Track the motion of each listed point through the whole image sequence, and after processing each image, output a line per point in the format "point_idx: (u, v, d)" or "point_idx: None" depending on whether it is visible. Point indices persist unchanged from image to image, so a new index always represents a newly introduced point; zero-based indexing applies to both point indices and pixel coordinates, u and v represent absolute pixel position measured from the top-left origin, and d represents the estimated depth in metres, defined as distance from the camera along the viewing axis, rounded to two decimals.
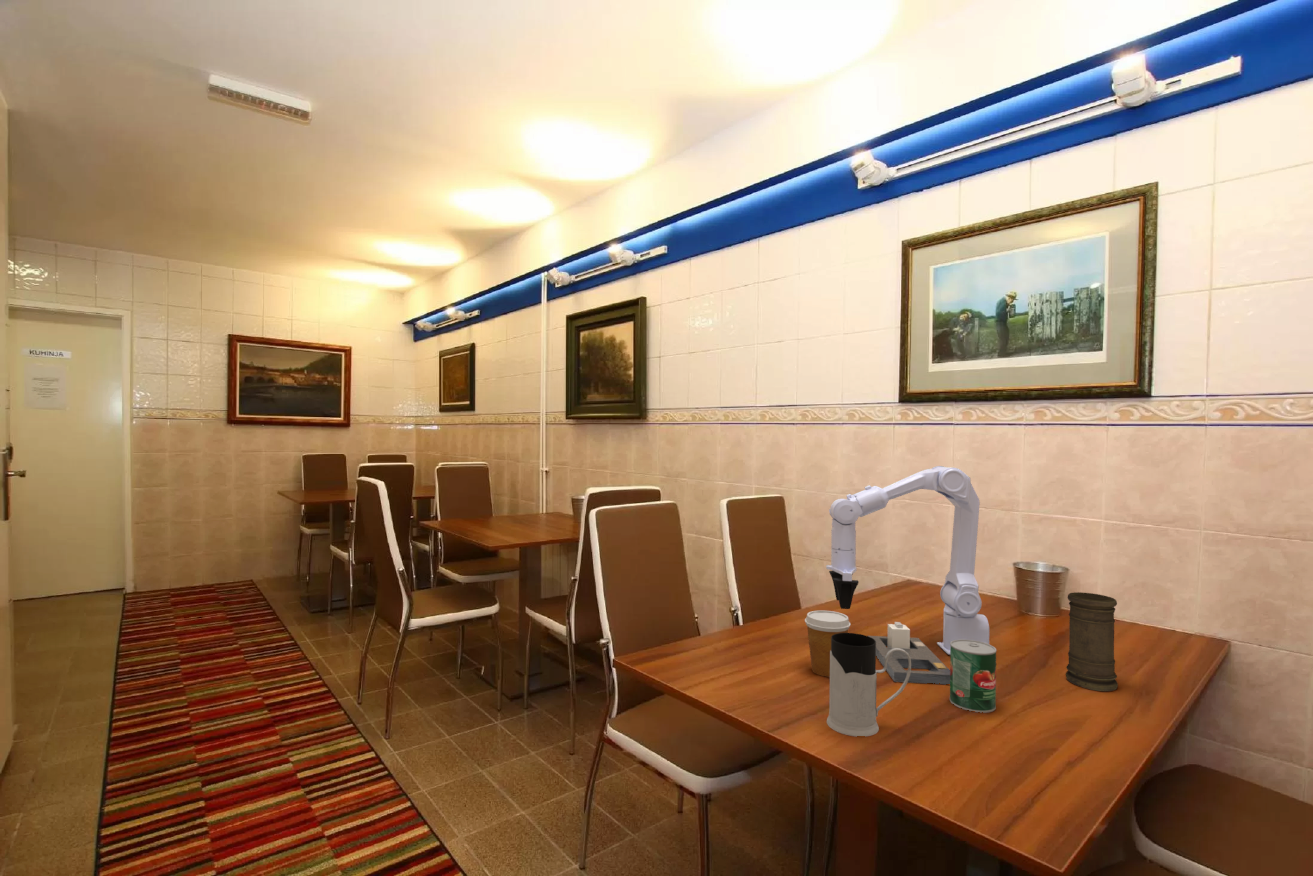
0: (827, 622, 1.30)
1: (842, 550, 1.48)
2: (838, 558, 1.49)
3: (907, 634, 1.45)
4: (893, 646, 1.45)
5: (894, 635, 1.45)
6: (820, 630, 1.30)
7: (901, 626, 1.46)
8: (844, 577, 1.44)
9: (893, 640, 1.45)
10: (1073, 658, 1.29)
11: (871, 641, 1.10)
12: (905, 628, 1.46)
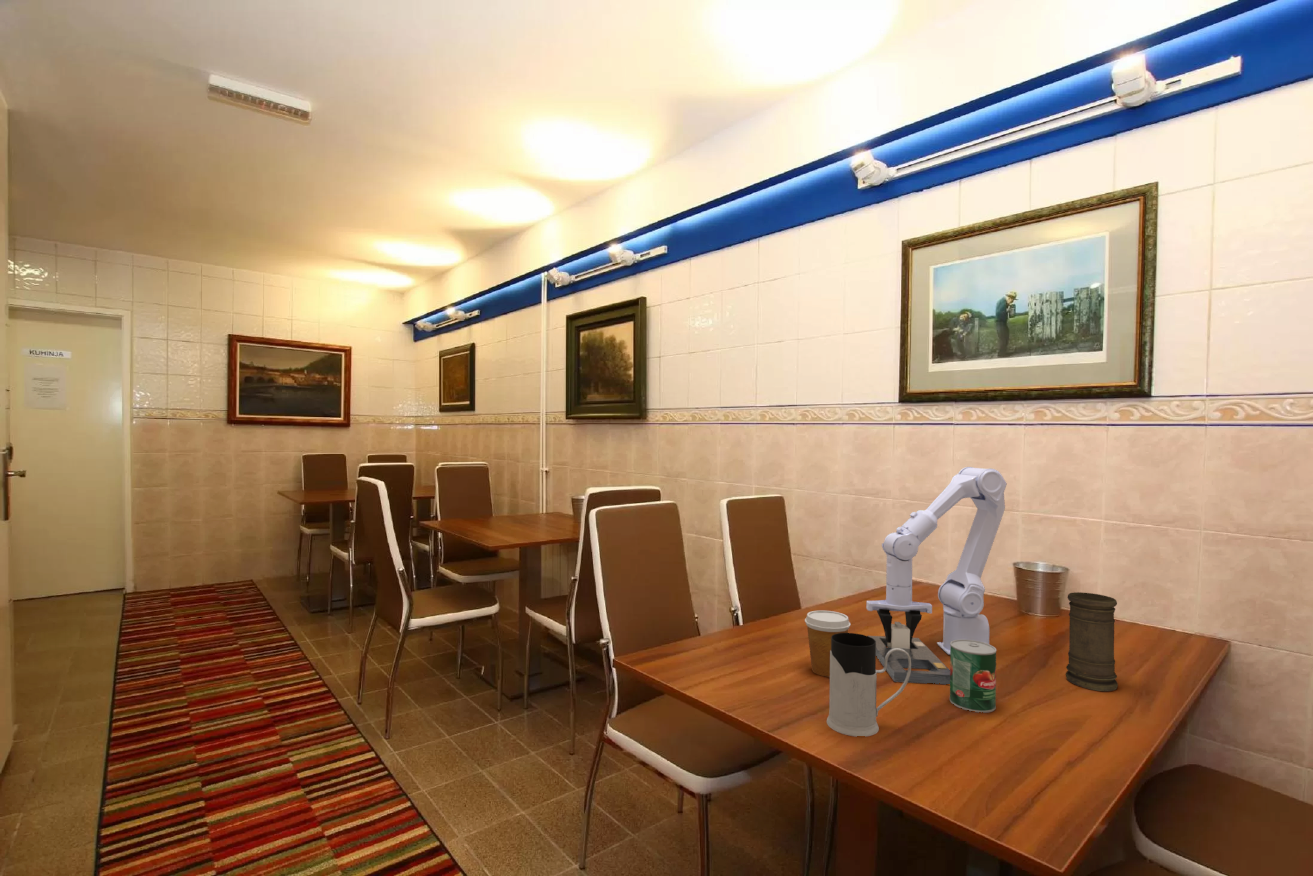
0: (827, 622, 1.30)
1: (886, 583, 1.48)
2: None
3: (907, 634, 1.45)
4: (893, 646, 1.45)
5: (894, 634, 1.45)
6: (820, 630, 1.30)
7: (901, 626, 1.46)
8: (866, 605, 1.48)
9: (893, 640, 1.45)
10: (1073, 658, 1.29)
11: (871, 641, 1.10)
12: (905, 628, 1.46)
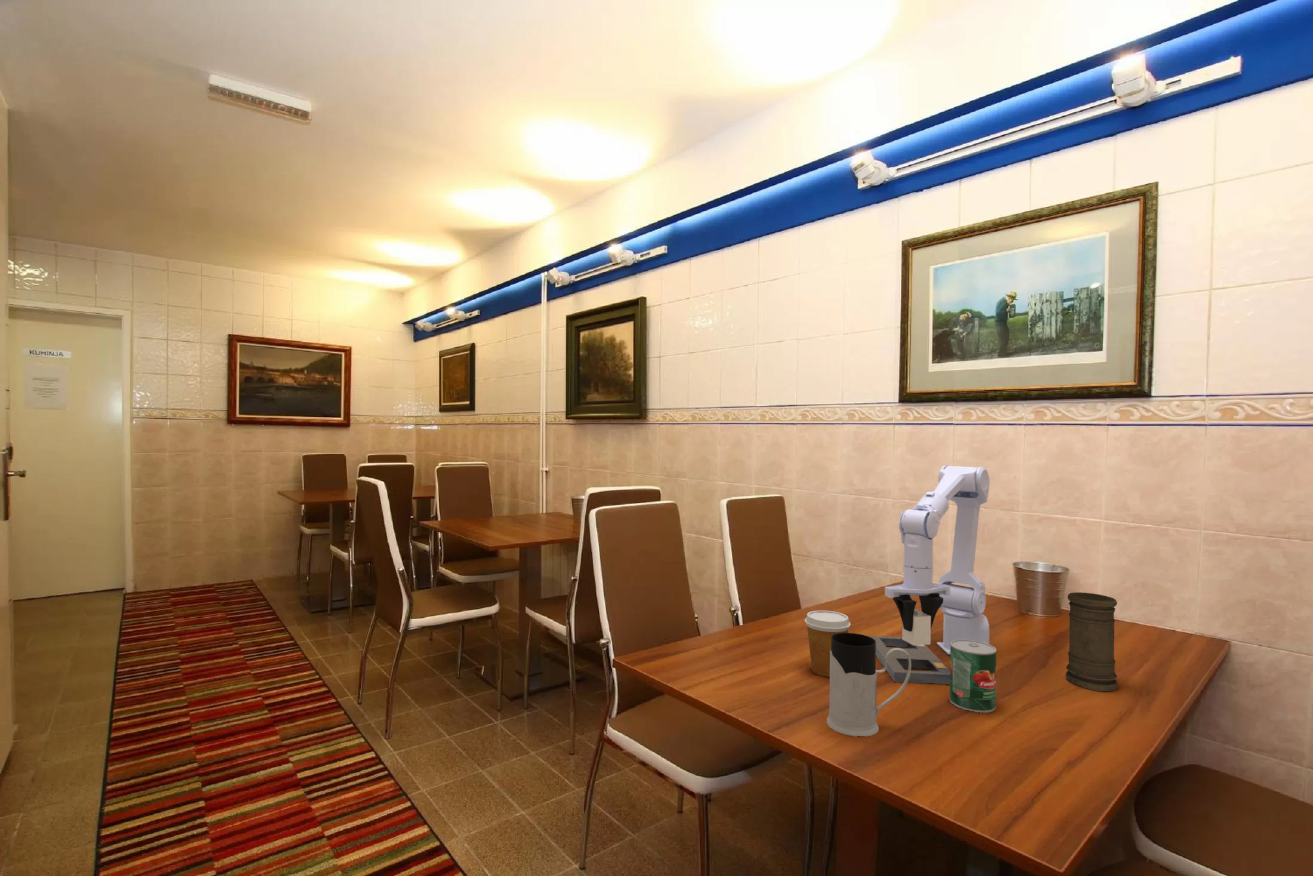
0: (827, 622, 1.30)
1: (905, 566, 1.33)
2: None
3: (928, 621, 1.31)
4: (915, 636, 1.31)
5: (916, 623, 1.31)
6: (820, 630, 1.30)
7: (921, 613, 1.32)
8: (885, 592, 1.32)
9: (915, 629, 1.31)
10: (1073, 658, 1.29)
11: (871, 641, 1.10)
12: (924, 615, 1.32)
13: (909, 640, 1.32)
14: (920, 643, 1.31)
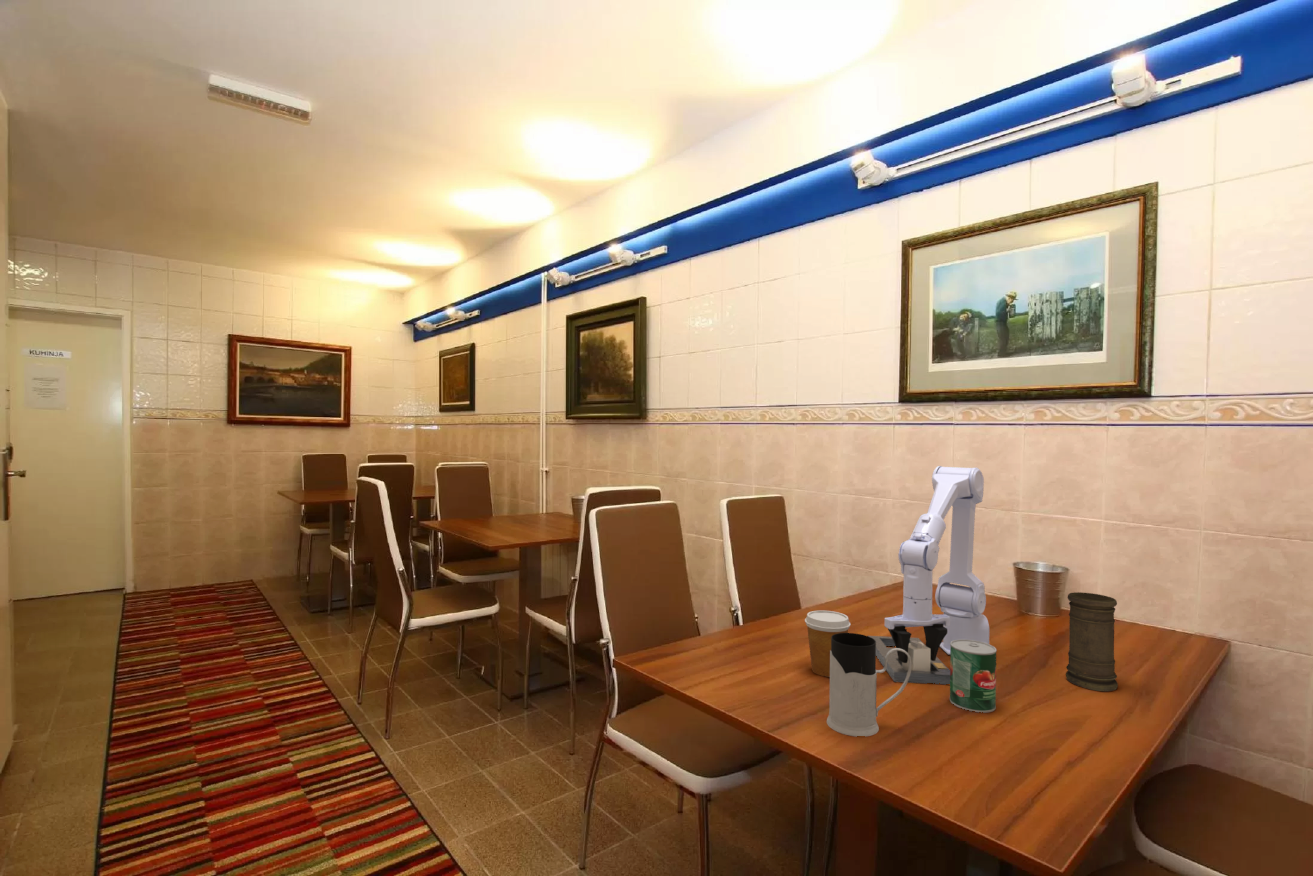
0: (827, 622, 1.30)
1: (904, 597, 1.33)
2: (903, 604, 1.34)
3: (928, 654, 1.31)
4: (915, 668, 1.31)
5: (916, 656, 1.31)
6: (820, 630, 1.30)
7: (921, 645, 1.32)
8: (885, 623, 1.32)
9: (915, 662, 1.31)
10: (1073, 658, 1.29)
11: (871, 641, 1.10)
12: (924, 647, 1.32)
13: None
14: None
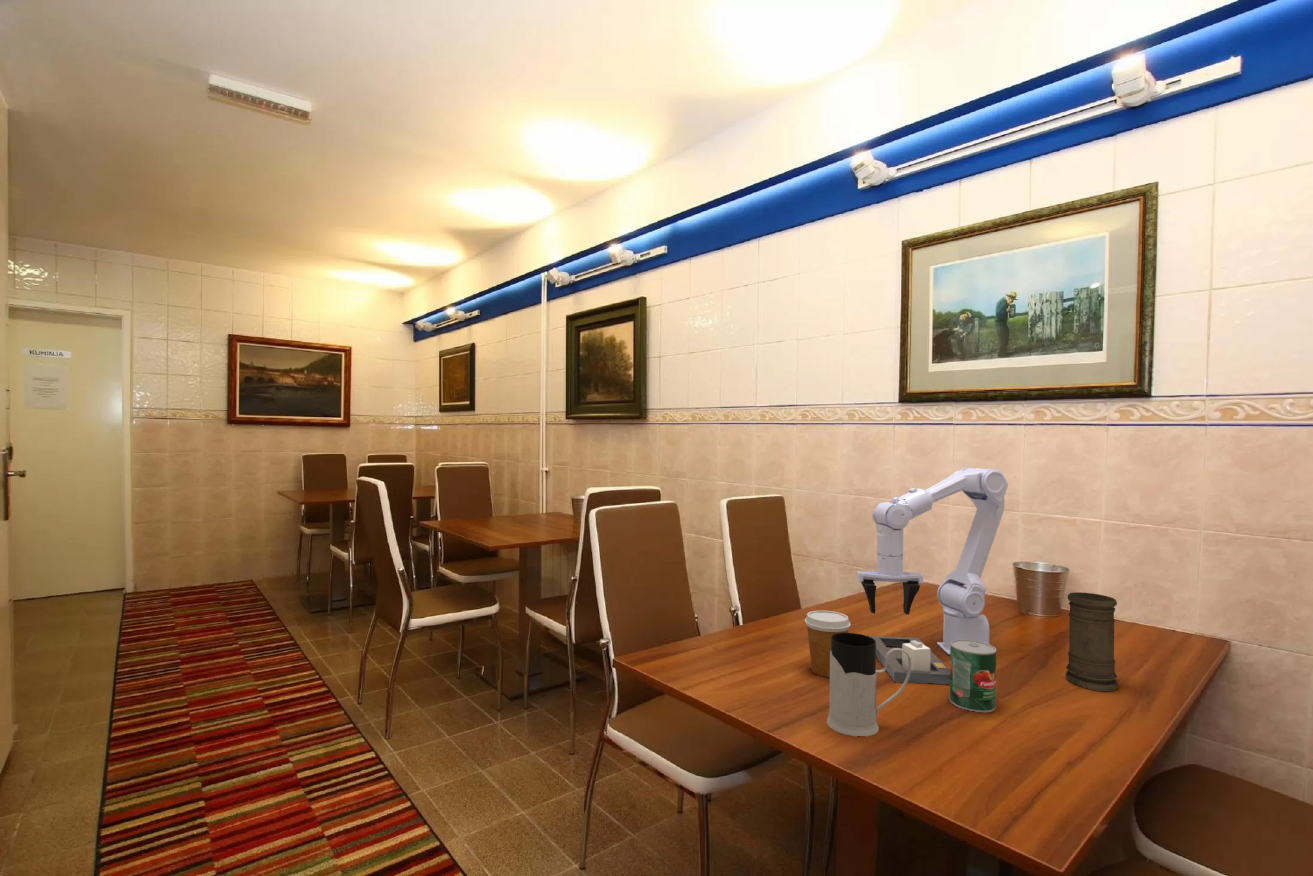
0: (827, 622, 1.30)
1: (877, 553, 1.45)
2: None
3: (928, 653, 1.31)
4: (914, 668, 1.31)
5: (916, 656, 1.31)
6: (820, 630, 1.30)
7: (921, 645, 1.32)
8: (857, 576, 1.46)
9: (914, 662, 1.31)
10: (1073, 658, 1.29)
11: (871, 641, 1.10)
12: (924, 647, 1.32)
13: None
14: None
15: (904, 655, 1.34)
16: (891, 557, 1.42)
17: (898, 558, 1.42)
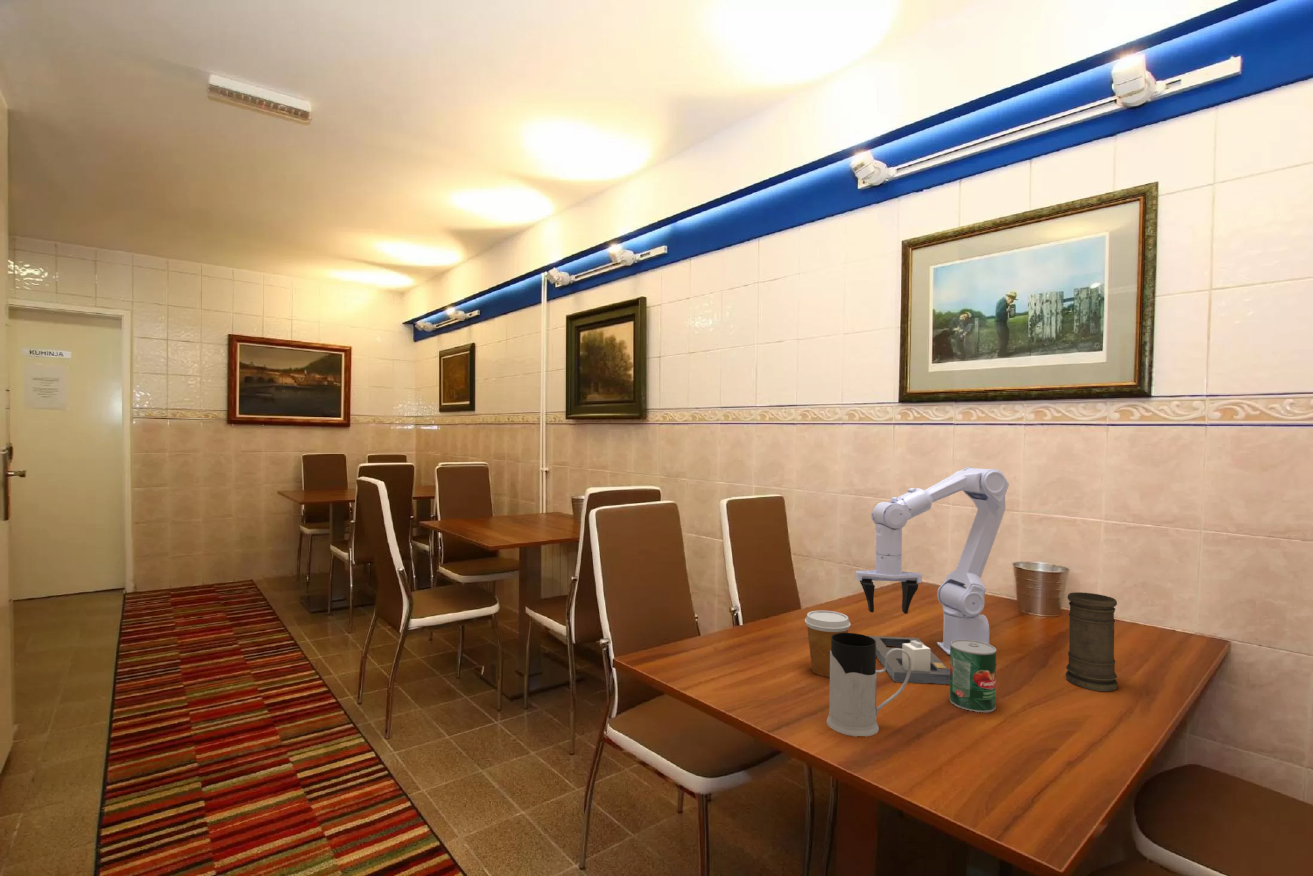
0: (827, 622, 1.30)
1: (876, 553, 1.46)
2: None
3: (928, 654, 1.31)
4: (915, 668, 1.31)
5: (916, 656, 1.31)
6: (820, 630, 1.30)
7: (921, 645, 1.32)
8: None
9: (915, 662, 1.31)
10: (1073, 658, 1.29)
11: (871, 641, 1.10)
12: (924, 647, 1.32)
13: None
14: None
15: (904, 655, 1.34)
16: (889, 556, 1.42)
17: (896, 557, 1.42)
